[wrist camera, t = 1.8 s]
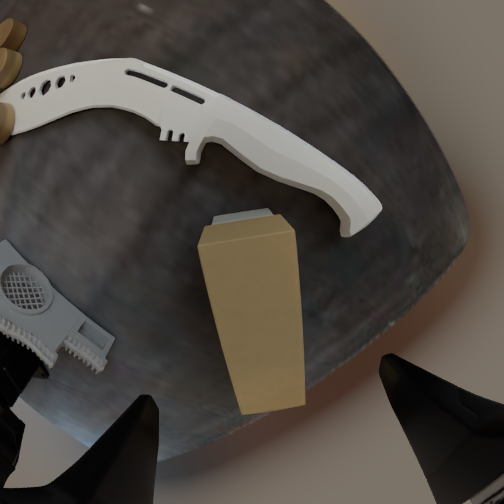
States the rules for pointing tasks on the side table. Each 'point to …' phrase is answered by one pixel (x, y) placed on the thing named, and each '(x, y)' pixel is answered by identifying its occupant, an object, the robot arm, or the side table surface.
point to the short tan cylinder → (9, 66)
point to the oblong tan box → (256, 306)
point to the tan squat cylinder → (6, 121)
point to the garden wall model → (46, 316)
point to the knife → (194, 127)
